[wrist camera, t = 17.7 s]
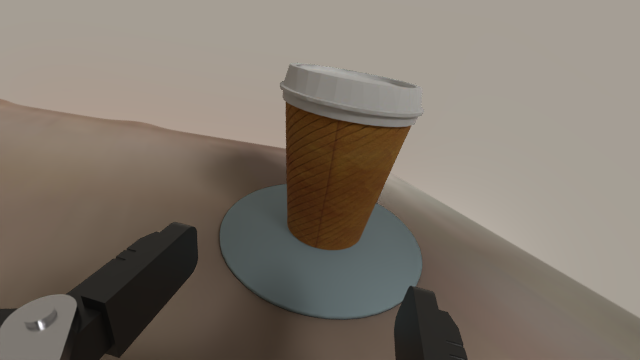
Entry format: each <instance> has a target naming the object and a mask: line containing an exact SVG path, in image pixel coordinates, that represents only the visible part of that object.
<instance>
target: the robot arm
mask: <svg viewBox="0 0 640 360" xmlns="http://www.w3.org/2000/svg"><path fill="white" fill-rule="evenodd" d="M197 261H198V249H197V230H196V228H195V227H193V226H189V225H185V224H181V223H178V222H173V223H171V224H170V225H169V226H167V227H166V228H165V229H164V230H162V231H161V232H160V233H159V232H154V233H152V234H149V235H147V236H145V237H143V238H140V239H139V240H138V241H136V242H135V243H134V244H132V245H131V246H130V247H128V248H127V250H126V251H125V250H124V251H123V252H122V253H120V254H119V255H118V256H116V259H112V260H111V261H110V262H108V263H107V264H106V265H104V266H103V267H102V268H100V269H99V270H98V271H96V272H95V273H94V274H92V275H91V276H90V277H88V278H87V279H86V280H85V281H83V282H82V283H81V284H79V285H78V286H77V287H75V288H74V289H73V290H71V291H70V292H68V293H67V294H65V295H64V294H55V295H49V296H45V297H41V298H38V299H36V300H33V301H31V302H29V303H27V304H25V305H23V306H22V307H20V308H18V309H0V360H99V359H100V358H101V357H102V356H103V355H104V354H105V353H106V354H109V355H112V356H115V357H118V358H120V356H121V355H122V354H123V353H124V352H125V351H126V349H127V348H128V347H129V346H130V345H131V344H132V343H133V341H134V340H135V339H136V338H137V337H138V336H139V334H140V333H141V332H142V331H143V330H144V329H145V327H146V326H147V325H148V324H149V323H150V322H151V321H152V319H153V318H154V317H155V316H156V315H157V314H158V312H159V311H160V310H161V309H162V308H163V307H164V306H165V304H166V303H167V302H168V301H169V300H170V299H171V297H172V296H173V295H174V294H175V293H176V292H177V291H178V289H179V288H180V287H181V286H182V285H183V284H184V282H185V281H186V280H187V279H188V278H189V277H190V275H191V274H192V273H193V271H194V269H195V267H196V265H197ZM394 339H395V356H396V360H468V359H467V355H466V352H465V349H464V348H463V342H462V339H461V335H460V332H459V329H458V327H457V325H456V324H455V322H454V321H453V319H452V318H451V316H450V315H449V313H448V312H445V311H441V310H439V309H438V305H437V301H436V297H435V294H434V292H433V291H429V290H426V289H422V288H418V287H414V286H409V288H408V290H407V292H406V294H405V297H404V299H403V301H402V304H401V306H400V309H399V311H398V313H397V316H396V320H395V327H394Z"/></svg>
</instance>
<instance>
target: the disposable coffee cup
mask: <svg viewBox="0 0 640 360" xmlns="http://www.w3.org/2000/svg"><path fill="white" fill-rule="evenodd" d="M280 88H281V89H282V90H283V98H284V100H285V101H286V154H287V155H286V161H287V163H286V166H287V171H286V172H287V179H286V180H287V225H288V228H289V230H290V232H291V233H292V234H293V236H295V237H296V238H297V239H298V240H300V241H301V242H303V243H305V244H307V245H309V246H312V247H315V248H319V249H324V250H342V249H346V248H349V247H351V246H353V245H355V244H356V243H357V242H358V241H359V240H360V238H361V235H362V233H363V231H364V228H365V226H366V224H367V222H368V220H369V217H370V215H371V213H372V211H373V209H374V206H375V204H376V202H377V200H378V198H379V195H380V193H381V191H382V189H383V187H384V184H385V182H386V180H387V178H388V175H389V173H390V171H391V169H392V167H393V164H394V162H395V160H396V158H397V155H398V153H399V151H400V149H401V147H402V145H403V142H404V140H405V138H406V136H407V134H408V132H409V130H410V127H411V125H414V124H415V122H416V120H417V118H418V116H421V115H422V114H423V112H424V109H423V108H422V107H421V99H422V87H420V86H417V85H414V84H410V83H406V82H403V81H399V80H394V79H390V78H385V77H381V76H377V75H372V74H367V73H361V72H356V71H350V70H345V69H339V68H333V67H327V66H320V65H312V64H302V63H291V64H290V65H289V68H288V71H287V74H286V77H285V80H284V81H282V82H281V83H280Z"/></svg>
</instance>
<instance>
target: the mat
mask: <svg viewBox="0 0 640 360" xmlns="http://www.w3.org/2000/svg"><path fill="white" fill-rule="evenodd" d="M220 247H221V251H222V255H223V257H224V259H225V261H226V263H227V266H228V267H229V268H230V270H231V271H232V273H233V274H234V275H235V277H236V278H237V279H238V280H239V281H240V282H241V283H242V284H243V285H244V286H246V287H247V288H248V289H250V290H251V291H252V292H254V293H255V294H256V295H258V296H259V297H261V298H263V299H265V300H266V301H268V302H270V303H272V304H274V305H276V306H279V307H281V308H284V309H286V310H288V311H291V312H295V313H299V314H302V315H306V316H311V317H317V318H323V319H342V320H345V319H357V318H364V317H368V316H373V315H377V314H380V313H382V312H385V311H387V310H390V309H392V308H393V307H395V306H396V305H398V304H400V303H401V302H402V301H403V299H404V297H405V294H406V292H407V290H408V288H409V286H414V287H416V285H417V282H418V280H419V278H420V275H421V270H422V256H421V252H420V248H419V246H418V244H417V241H416V239H415V238H414V236H413V235H412V233H411V232H410V230H409V229H408V228H407V227H406V225H405V224H404V223H403V222H402V221H401V220H400V219H398V218H397V217H396V216H395V215H394V214H392V213H391V212H390V211H388V210H387V209H385V208H384V207H382V206H381V205H379V204H377V203H376V204H375V206H374V209H373V211H372V213H371V215H370V217H369V220H368V222H367V224H366V226H365V228H364V231H363V233H362V235H361V238H360V240H359V241H358V242H357V243H356V244H355V245H353V246H351V247H349V248H346V249H342V250H324V249H319V248H315V247H312V246H309V245H307V244H305V243H303V242H301V241H300V240H298V239H297V238H296V237H295V236H293V234H292V233H291V232H290V230H289V228H288V225H287V184H282V185H276V186H271V187H267V188H263V189H260V190H257V191H255V192H253V193H251V194H248V195H247V196H245V197H243V198H242V199H240V200H239V201H238V202H236V203H235V204H234V205H233V206H232V207H231V208H230V209H229V211H228V212H227V214H226V215H225V217H224V219H223V222H222V224H221V229H220Z"/></svg>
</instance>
